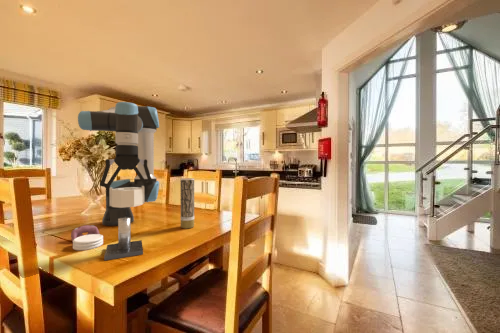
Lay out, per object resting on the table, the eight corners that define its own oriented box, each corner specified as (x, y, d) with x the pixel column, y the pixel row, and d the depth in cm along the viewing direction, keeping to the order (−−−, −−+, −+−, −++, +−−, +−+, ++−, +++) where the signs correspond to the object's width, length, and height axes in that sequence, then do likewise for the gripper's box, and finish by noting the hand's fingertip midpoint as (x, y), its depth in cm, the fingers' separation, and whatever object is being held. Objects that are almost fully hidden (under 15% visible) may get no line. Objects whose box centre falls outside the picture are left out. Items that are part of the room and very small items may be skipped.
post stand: (107, 248, 90) (107, 216, 90) (141, 243, 95) (141, 213, 95) (104, 260, 79) (103, 224, 79) (142, 254, 85) (142, 220, 84)
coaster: (108, 241, 98) (108, 233, 98) (93, 251, 88) (93, 241, 88) (84, 241, 98) (84, 233, 98) (66, 251, 88) (66, 241, 88)
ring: (112, 203, 90) (112, 188, 90) (141, 201, 94) (141, 186, 94) (111, 208, 81) (111, 191, 81) (143, 206, 86) (142, 189, 85)
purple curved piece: (98, 239, 104) (96, 224, 106) (100, 237, 102) (98, 221, 104) (70, 245, 97) (69, 229, 100) (72, 243, 95) (71, 226, 97)
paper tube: (190, 229, 116) (190, 179, 115) (178, 228, 117) (178, 178, 116) (196, 225, 122) (196, 178, 122) (184, 224, 124) (184, 177, 123)
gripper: (89, 142, 78) (90, 208, 79) (160, 145, 89) (160, 203, 90) (92, 144, 85) (92, 204, 86) (158, 146, 96) (158, 200, 96)
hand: (127, 204), depth 88 cm, fingers closed on ring, 10 cm apart
